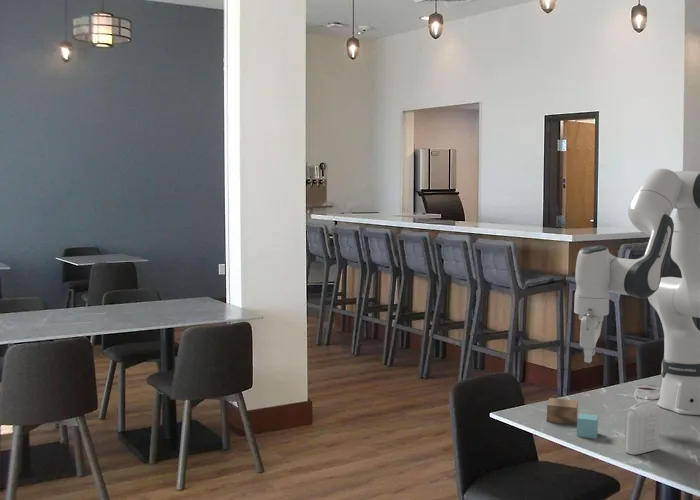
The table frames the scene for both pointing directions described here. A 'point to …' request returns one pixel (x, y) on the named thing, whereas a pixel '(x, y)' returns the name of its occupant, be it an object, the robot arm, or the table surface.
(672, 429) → the table surface
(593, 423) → the teal cube
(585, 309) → the robot arm
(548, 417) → the walnut block
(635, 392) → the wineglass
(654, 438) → the white plastic bottle
